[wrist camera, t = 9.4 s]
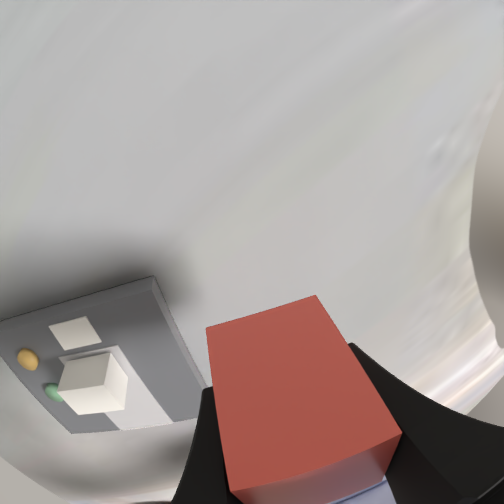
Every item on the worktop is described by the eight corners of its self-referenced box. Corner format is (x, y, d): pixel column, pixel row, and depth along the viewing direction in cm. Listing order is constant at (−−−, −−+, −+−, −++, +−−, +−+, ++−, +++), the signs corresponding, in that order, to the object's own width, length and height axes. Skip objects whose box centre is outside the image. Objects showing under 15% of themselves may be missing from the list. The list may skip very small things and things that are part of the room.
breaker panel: (214, 399, 23) (217, 419, 21) (73, 421, 22) (70, 438, 20) (153, 275, 17) (150, 295, 15) (-7, 323, 16) (-18, 340, 14)
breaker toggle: (128, 377, 18) (124, 409, 15) (84, 384, 17) (78, 415, 15) (110, 352, 17) (103, 384, 14) (66, 361, 16) (56, 391, 14)
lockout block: (323, 366, 13) (381, 481, 7) (234, 393, 12) (264, 520, 7) (315, 294, 11) (402, 432, 5) (205, 327, 10) (230, 491, 5)
